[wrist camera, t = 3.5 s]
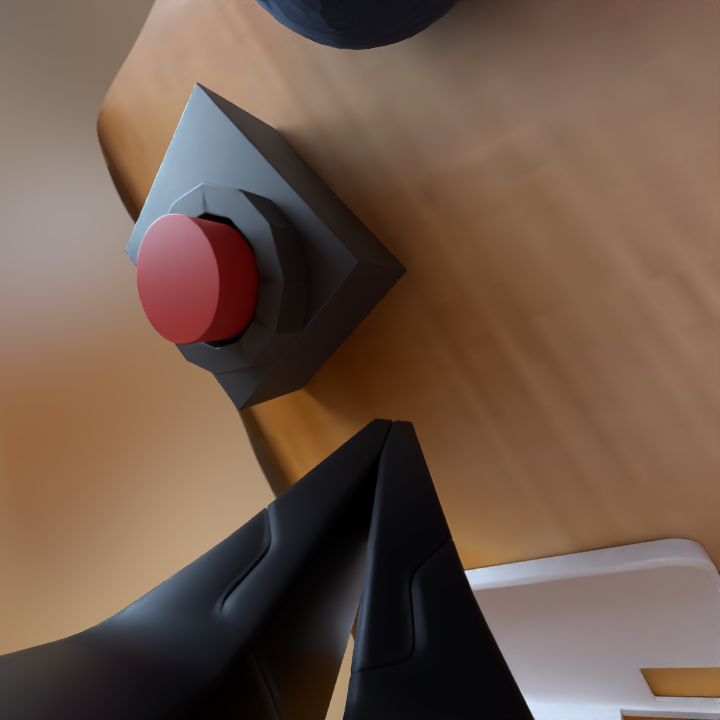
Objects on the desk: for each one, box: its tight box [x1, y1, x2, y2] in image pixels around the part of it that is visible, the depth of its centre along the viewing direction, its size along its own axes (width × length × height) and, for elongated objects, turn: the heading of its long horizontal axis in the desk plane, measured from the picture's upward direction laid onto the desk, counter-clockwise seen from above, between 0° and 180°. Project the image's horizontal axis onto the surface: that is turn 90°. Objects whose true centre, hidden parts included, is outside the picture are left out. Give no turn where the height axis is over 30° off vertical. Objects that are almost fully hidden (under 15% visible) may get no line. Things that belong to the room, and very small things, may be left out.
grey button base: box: [125, 83, 407, 410], centre depth 19 cm, size 12×10×7 cm
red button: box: [137, 214, 259, 344], centre depth 15 cm, size 5×5×2 cm
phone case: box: [465, 538, 720, 720], centre depth 17 cm, size 7×1×15 cm
